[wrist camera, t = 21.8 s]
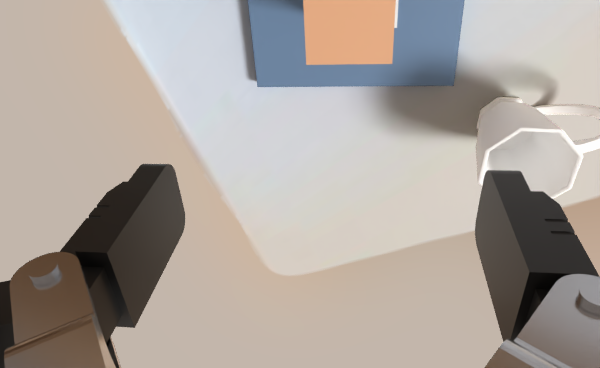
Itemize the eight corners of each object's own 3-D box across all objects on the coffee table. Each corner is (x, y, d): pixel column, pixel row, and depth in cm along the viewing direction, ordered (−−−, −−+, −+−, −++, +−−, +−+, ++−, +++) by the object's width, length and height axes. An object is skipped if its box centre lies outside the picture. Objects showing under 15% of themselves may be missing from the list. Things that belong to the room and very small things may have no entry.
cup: (451, 96, 40) (467, 143, 33) (583, 55, 37) (630, 97, 30) (469, 164, 43) (487, 219, 36) (591, 132, 40) (635, 186, 33)
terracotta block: (393, -45, 29) (397, -30, 25) (389, 37, 32) (392, 63, 28) (311, -42, 30) (301, -27, 25) (314, 39, 32) (306, 64, 28)
